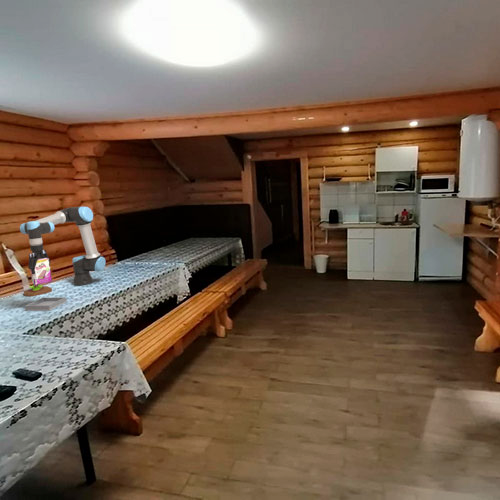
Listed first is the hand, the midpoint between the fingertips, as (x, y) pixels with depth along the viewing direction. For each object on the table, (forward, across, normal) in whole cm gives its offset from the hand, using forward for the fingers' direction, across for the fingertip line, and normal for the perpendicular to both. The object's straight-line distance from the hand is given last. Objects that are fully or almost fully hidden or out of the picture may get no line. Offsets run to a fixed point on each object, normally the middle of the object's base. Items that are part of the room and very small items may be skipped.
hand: (41, 276), depth 259 cm
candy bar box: (+5, 0, 0) cm, 5 cm away
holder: (+21, 0, 0) cm, 21 cm away
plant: (+22, -34, -33) cm, 52 cm away
